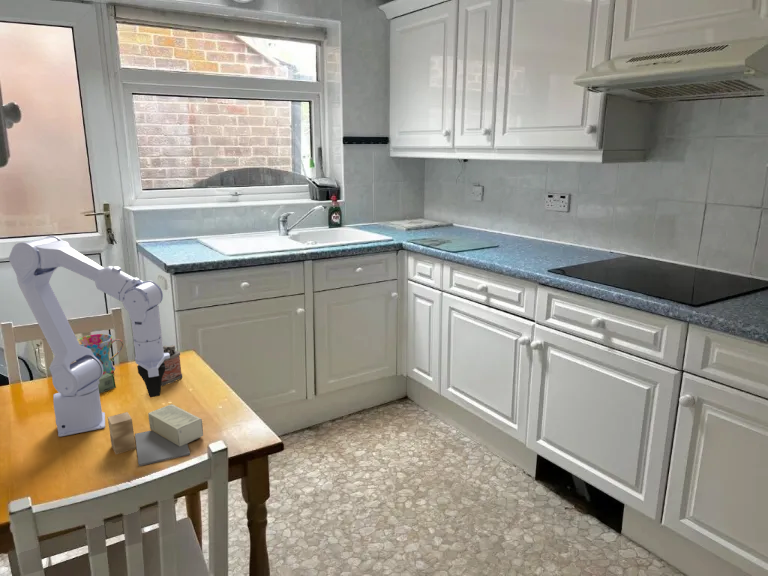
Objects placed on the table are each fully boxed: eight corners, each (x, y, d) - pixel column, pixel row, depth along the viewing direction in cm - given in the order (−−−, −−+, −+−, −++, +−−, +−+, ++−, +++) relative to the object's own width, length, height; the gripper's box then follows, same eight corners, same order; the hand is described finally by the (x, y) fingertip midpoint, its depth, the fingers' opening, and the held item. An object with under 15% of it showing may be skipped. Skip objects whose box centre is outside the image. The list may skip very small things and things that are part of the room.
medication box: (111, 385, 155) (108, 371, 154) (116, 387, 154) (114, 373, 153) (66, 402, 146) (64, 387, 145) (72, 404, 144) (69, 389, 143)
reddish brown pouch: (177, 374, 161) (174, 341, 159) (185, 377, 160) (181, 343, 157) (152, 384, 155) (147, 349, 153) (159, 387, 153) (155, 352, 151)
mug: (84, 384, 156) (78, 347, 153) (77, 373, 163) (72, 338, 160) (130, 373, 163) (126, 337, 160) (122, 363, 170) (117, 329, 167)
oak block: (115, 454, 121) (111, 424, 119) (111, 446, 124) (107, 417, 122) (135, 448, 123) (131, 418, 121) (131, 440, 126) (127, 412, 124)
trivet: (138, 466, 116) (138, 464, 116) (135, 435, 128) (134, 433, 128) (190, 454, 120) (189, 452, 120) (181, 425, 132) (181, 424, 132)
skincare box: (149, 429, 130) (178, 448, 122) (147, 412, 129) (176, 429, 121) (174, 419, 135) (204, 436, 127) (173, 402, 133) (202, 418, 126)
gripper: (171, 345, 120) (177, 404, 123) (164, 325, 132) (170, 380, 136) (134, 350, 117) (142, 411, 120) (131, 330, 129) (138, 385, 133)
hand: (154, 395), depth 128 cm, fingers closed
